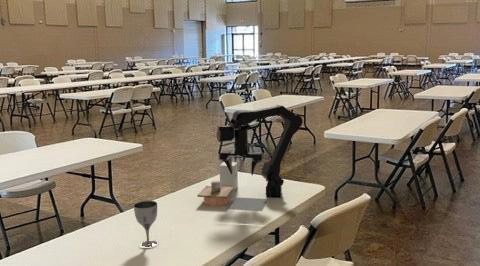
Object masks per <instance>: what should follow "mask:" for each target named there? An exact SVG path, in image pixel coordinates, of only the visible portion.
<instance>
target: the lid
mask: <svg viewBox="0 0 480 266" xmlns="http://www.w3.org/2000/svg"><path fill="white" fill-rule="evenodd" d="M233 190H234V187H221V186H220V180H213V181H211V183H210V185H206V186H205V187H204V188H202V190H201V191H200V192H199V193H197V195H196V196H197V197H198V198H204V197H210V198H227V197H228V196H229V197H230V195H231V194H232V192H234V191H233Z"/></svg>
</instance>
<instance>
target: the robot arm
mask: <svg viewBox="0 0 480 266" xmlns="http://www.w3.org/2000/svg"><path fill="white" fill-rule="evenodd" d="M275 116H279V117H281V118H282V119H283V120H284V121H283V128H282V129H283V131H282V133H281V136H280V138H279V140H278V142H277V144H276V147H275V149H274V152H273V154H272V156H271V159H270V160H269V161H268V162H266V161H264V162H263V166H262V168H261V175H262V178H264V179H265V181H266V186H265V196H266V198H270V199H271V198H273V199H280V198H282V196H283V192H282V190H283V189H282V188H283V187H282V186H283V185H284V182H285V181H284V179H283V178H282V177H280V174H281V164H282V161H283V158H285V157H284V156H285V154H286V152H287V151H288V148H289V145H290V143H291V141H292V139H293V137H294V135H296V133H297V132H298V131H299V129H300V128H301V126H302V125H303V123H304V121H303V117H302V116H301V115H299V114H296V113H294V112H292V111H291V110H289V109H287V108H286V107H285V106H284V105H280V104H277V105H274V106H269V107H263V108H259V109H254V110H245V109H242V110H234V112H233V114H232V117H231V119H230V121H229V122H228V124H227V125H218V126H217V130H216V140H217V143H223V142H232V141H233V140H234V143H233V146H234V147H233V150H234V152H232V151H231V150H222V151H221V152H220V153H219V156H218V157H219V160H221V161H222V163H223V162H225V163H226V165H227V167H228V169H229V171H230V173H231V174H233V170H232V162H233V161H232V160H233V159H232V158H238V159H240V158H242V159H243V158H244V159H252V161H251V169H250V170H251V172H250V174H251V176H253V175H254V172H255V170H256V166H257V163H258V164H259V162H261V161H263V159H264V158H265V157H264V152H263V151H254V152H253V153H251V145H250V144H249V141H248V139H249V137H248V131H249V130H253V127H252V126H251V125H250V124H251V123H252V122H255V121H257V120H261V119H266V118H271V117H275Z"/></svg>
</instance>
